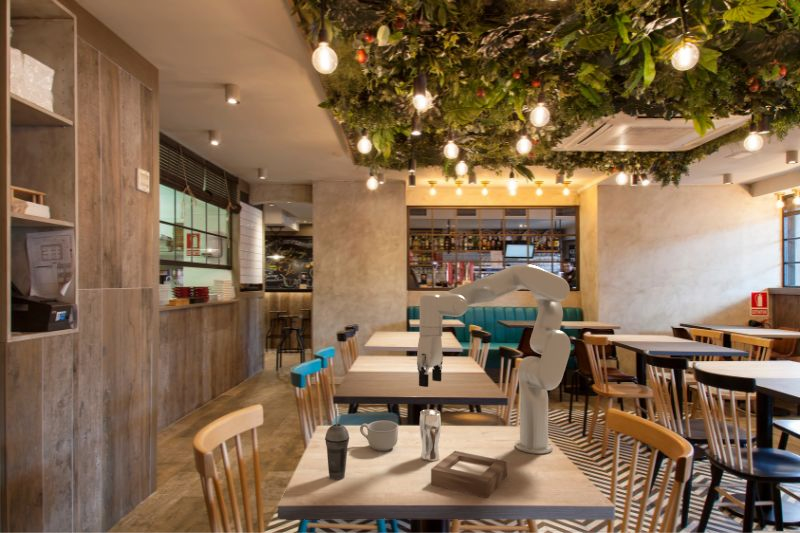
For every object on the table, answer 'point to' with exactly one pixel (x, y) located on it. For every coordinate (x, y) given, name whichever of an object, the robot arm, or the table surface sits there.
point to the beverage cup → (337, 450)
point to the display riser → (469, 473)
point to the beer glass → (430, 434)
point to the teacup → (381, 434)
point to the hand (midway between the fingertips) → (430, 383)
